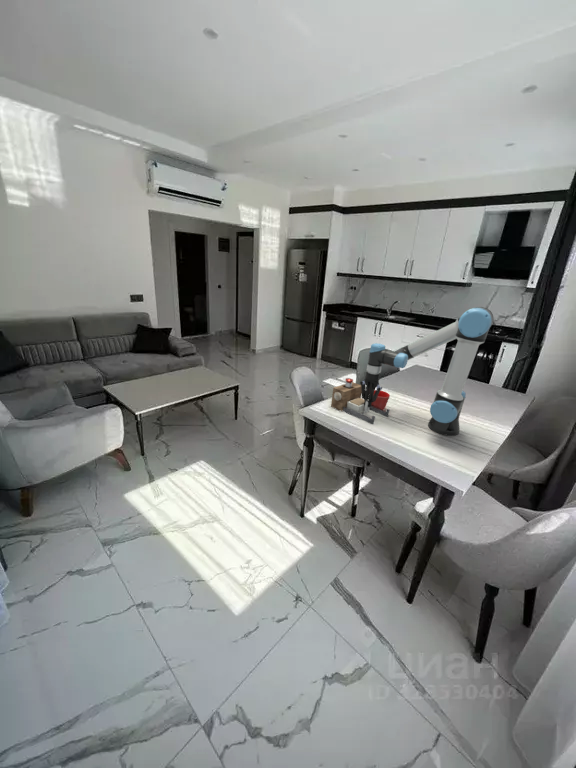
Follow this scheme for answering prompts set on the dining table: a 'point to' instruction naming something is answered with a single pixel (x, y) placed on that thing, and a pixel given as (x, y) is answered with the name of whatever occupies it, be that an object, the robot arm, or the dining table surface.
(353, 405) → the block
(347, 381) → the cylinder
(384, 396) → the flower pot
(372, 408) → the rail channel
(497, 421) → the dining table surface
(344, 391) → the end cabinet
